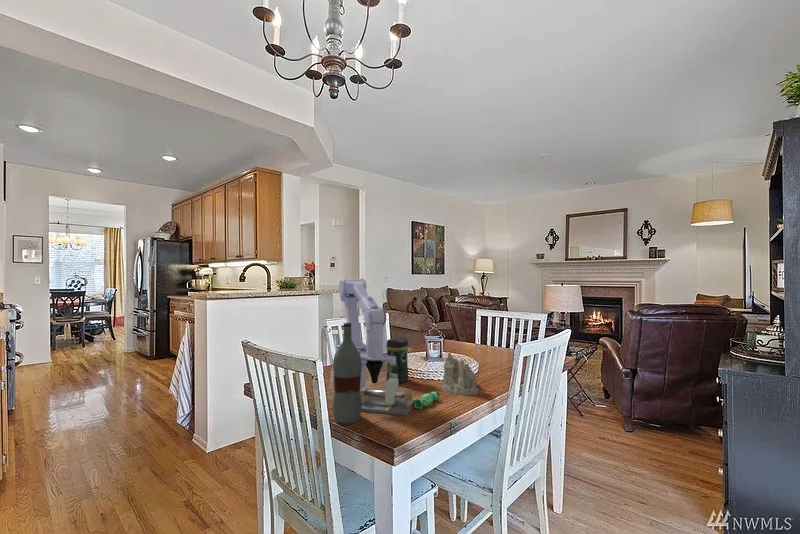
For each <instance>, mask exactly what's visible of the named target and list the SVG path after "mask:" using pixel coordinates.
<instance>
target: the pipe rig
mask: <svg viewBox="0 0 800 534" xmlns="http://www.w3.org/2000/svg"><path fill="white" fill-rule="evenodd" d="M368 387H369V386H366V387H363V388H362V389H361V390H360V394H361V402H362V408H361V412H364V413H373V414H375V413H376V414H388V415H396V416H397V415H398V416H406V415H407V416H409V414H410V412H411V411H412V409H414V407H413V405H412V404H413V402H414V400H415V399H413V390H411V389H407V390H406V392H402V391H398V392H395V397H398V400H397V401H396V402H395V403H394V404H385V390H379V389H368Z"/></svg>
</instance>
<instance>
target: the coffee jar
mask: <svg viewBox="0 0 800 534" xmlns="http://www.w3.org/2000/svg"><path fill="white" fill-rule="evenodd" d="M408 342H409V341H408V338H406V337H404V336H396V337H393V338H389V339H388V340H386V344H385V345H386V353H387V354H386V355H387V356H395V357H396V362H395V363H389V362H386V364H387V365H386V382H387V381H388V380H389V379H390V378H394V379H398V384H403V383H405V382H407V381H408V379H409V367H408V363H409V362H408V351H409V350H408V349H409V348H408V347H409V343H408Z"/></svg>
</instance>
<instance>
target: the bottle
mask: <svg viewBox="0 0 800 534" xmlns="http://www.w3.org/2000/svg"><path fill="white" fill-rule="evenodd" d="M342 325H343V335H342V337H343V339H342V342H341V343H340V345H339V347H338V348H337V350H336V351H335V353H334V355H333V356H334V357H333V363H332V373H333V374H332V375H333V387H334V392H333V400H332V414H333V418H334V421H335V422H336V423H337V424H338V423H340V424H352V423H355V422H358V421H359V420H360V418H361V414H362V411H361V408H362V402H361V394H360V381H361V369H362V362H361V356H360V353H359V351H360V350H357V348H356V347H355V345H354V343H353V342H352V335H351V325H352V324H351V323H347V322H344V323H343V324H342Z"/></svg>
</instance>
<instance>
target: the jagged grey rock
mask: <svg viewBox="0 0 800 534" xmlns="http://www.w3.org/2000/svg"><path fill="white" fill-rule="evenodd" d="M443 368H444V369H443V370H444V371H443V372H444V374H443V377H442V379H443V380H442V385H441V389H442V390H443V391H445V392H447V393H452V394H456V395H460V396H468V395H469V396H475V395H477V394H478V393H479V392H478V391H479V388H478V387H477V381H476V379H477V375H476V373H474V371H473V370H472V369H471V366H470V365H469V364H468V363H465V361H464V360H463V359H460V360H459V361H458V360H457V358H454V356H453V355H451V352H447V357H445V362H444V364H443ZM476 393H477V394H476ZM474 394H475V395H474Z"/></svg>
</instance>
